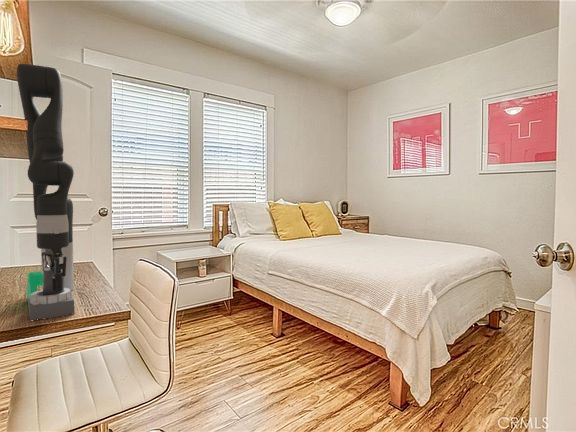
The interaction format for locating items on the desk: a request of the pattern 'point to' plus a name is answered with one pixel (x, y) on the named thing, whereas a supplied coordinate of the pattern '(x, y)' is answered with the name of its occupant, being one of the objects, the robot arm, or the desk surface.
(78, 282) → the desk surface
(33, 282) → the camera mount
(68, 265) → the robot arm
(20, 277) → the desk surface
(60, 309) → the segmented ring socket plate
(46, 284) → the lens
